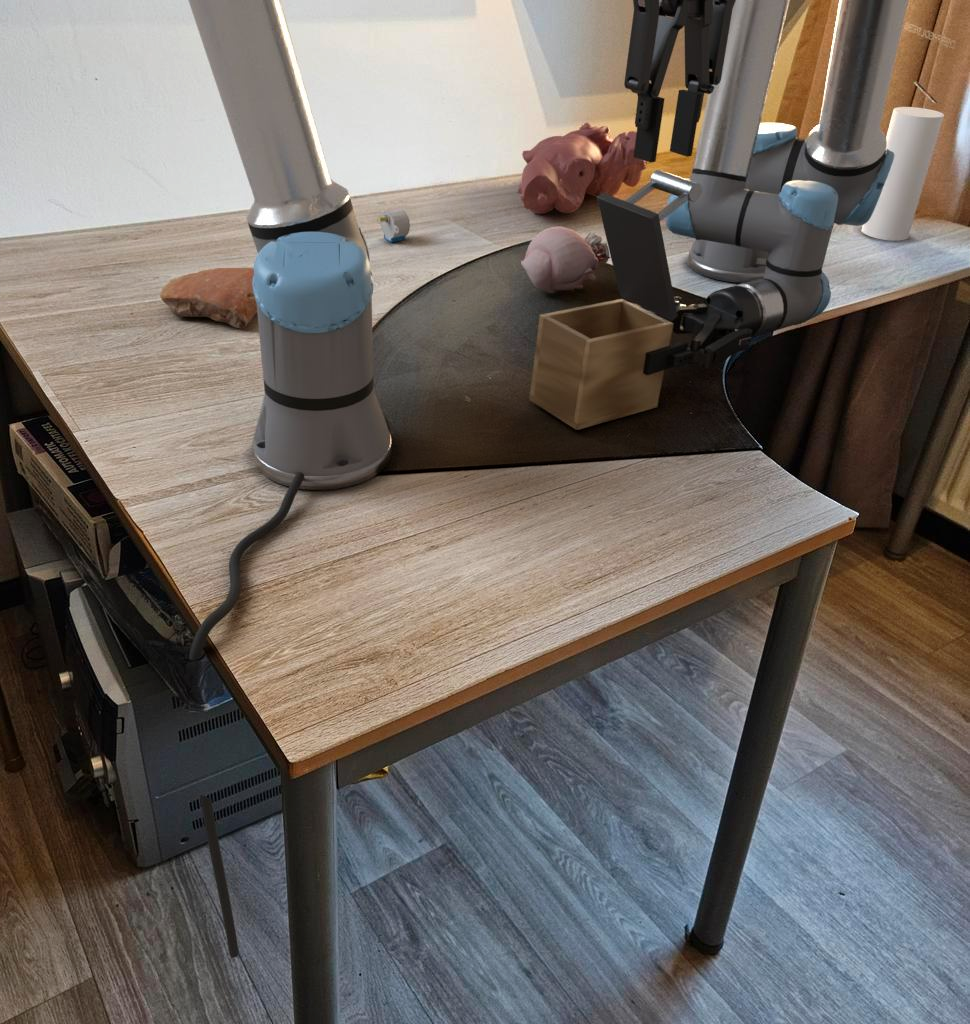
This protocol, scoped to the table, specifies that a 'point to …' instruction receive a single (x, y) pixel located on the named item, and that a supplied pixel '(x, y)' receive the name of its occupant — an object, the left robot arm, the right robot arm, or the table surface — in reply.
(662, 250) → the lid
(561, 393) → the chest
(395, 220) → the electric motor
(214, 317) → the ceramic shard
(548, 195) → the reddish clay figurine
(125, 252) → the table surface
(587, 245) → the toy
